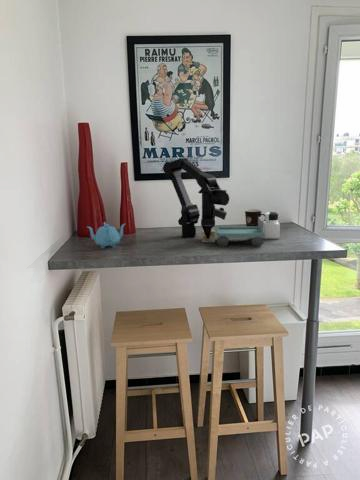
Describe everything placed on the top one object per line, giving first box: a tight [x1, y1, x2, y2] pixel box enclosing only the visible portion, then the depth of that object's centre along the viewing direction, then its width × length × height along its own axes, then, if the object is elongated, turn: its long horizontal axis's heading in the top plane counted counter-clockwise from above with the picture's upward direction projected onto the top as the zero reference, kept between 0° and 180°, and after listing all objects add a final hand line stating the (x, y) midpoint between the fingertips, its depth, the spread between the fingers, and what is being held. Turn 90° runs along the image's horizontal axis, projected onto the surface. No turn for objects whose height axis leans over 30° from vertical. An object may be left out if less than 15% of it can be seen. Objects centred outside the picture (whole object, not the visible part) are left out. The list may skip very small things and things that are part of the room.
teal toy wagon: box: [216, 216, 264, 248], centre depth 163 cm, size 20×14×11 cm
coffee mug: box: [244, 208, 265, 227], centre depth 189 cm, size 12×9×10 cm
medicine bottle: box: [263, 211, 281, 240], centre depth 172 cm, size 7×7×12 cm
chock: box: [201, 228, 216, 243], centre depth 169 cm, size 6×5×5 cm
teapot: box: [87, 221, 126, 249], centre depth 163 cm, size 13×13×10 cm
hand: (208, 236), depth 169 cm, fingers open, 9 cm apart
